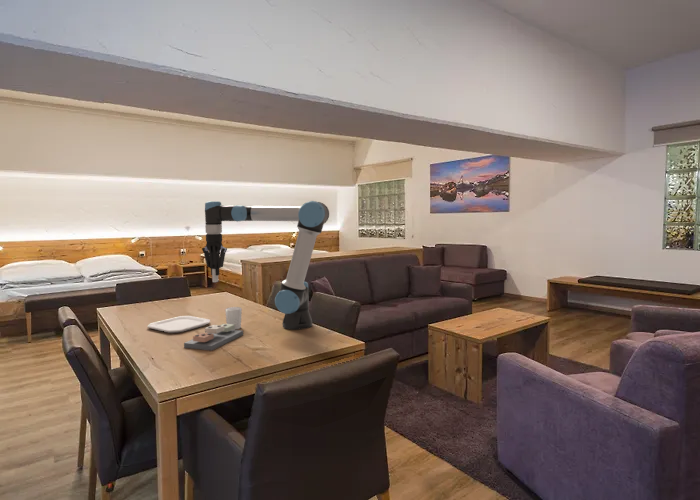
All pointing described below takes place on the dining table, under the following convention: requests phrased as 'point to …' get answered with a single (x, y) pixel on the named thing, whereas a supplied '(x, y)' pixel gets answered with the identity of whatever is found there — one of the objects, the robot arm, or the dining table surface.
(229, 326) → the tile one
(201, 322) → the plate
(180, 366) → the dining table surface
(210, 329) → the tile two
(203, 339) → the tile three
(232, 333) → the board
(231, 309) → the white cup
